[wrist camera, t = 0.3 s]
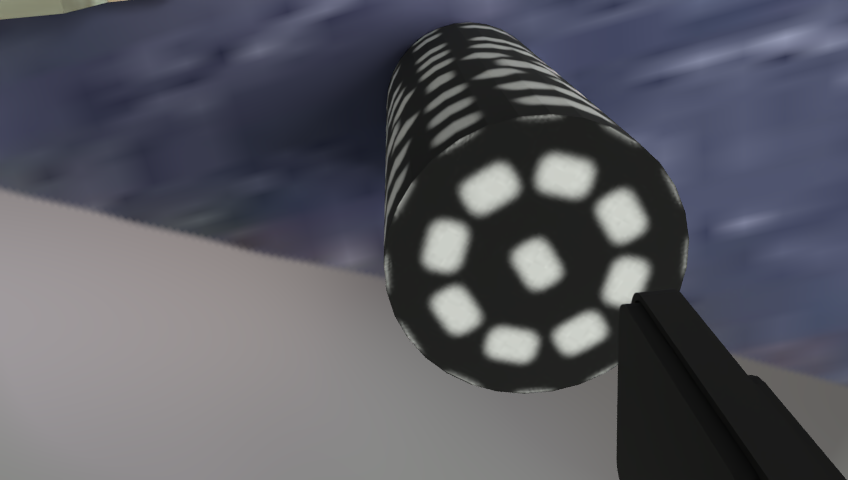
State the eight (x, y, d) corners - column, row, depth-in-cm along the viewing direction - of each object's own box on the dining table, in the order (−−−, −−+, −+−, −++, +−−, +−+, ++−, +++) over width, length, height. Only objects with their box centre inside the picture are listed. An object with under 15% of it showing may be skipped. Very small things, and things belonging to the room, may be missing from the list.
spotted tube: (355, 80, 38) (322, 223, 19) (495, -11, 36) (605, 49, 18) (440, 207, 41) (482, 438, 22) (572, 128, 39) (735, 304, 21)
